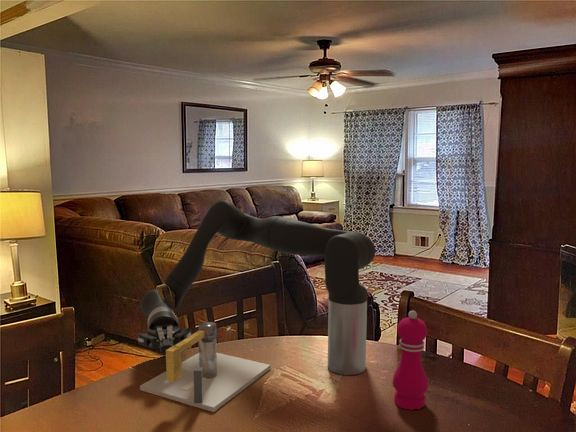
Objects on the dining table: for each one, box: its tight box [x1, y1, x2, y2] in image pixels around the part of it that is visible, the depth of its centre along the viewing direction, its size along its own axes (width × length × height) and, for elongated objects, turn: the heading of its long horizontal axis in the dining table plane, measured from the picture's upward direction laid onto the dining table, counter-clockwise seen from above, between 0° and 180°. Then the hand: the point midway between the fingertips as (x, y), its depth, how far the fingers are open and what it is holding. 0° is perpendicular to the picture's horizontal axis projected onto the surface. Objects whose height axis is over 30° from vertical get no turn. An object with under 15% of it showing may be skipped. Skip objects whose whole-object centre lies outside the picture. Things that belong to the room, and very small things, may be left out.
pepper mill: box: [392, 310, 429, 411], centre depth 102 cm, size 7×7×20 cm
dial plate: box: [139, 352, 272, 413], centre depth 114 cm, size 23×20×8 cm
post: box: [198, 338, 218, 379], centre depth 114 cm, size 4×4×8 cm
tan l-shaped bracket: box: [165, 321, 217, 382], centre depth 107 cm, size 17×4×7 cm, turn 159°
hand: (167, 349), depth 110 cm, fingers closed
